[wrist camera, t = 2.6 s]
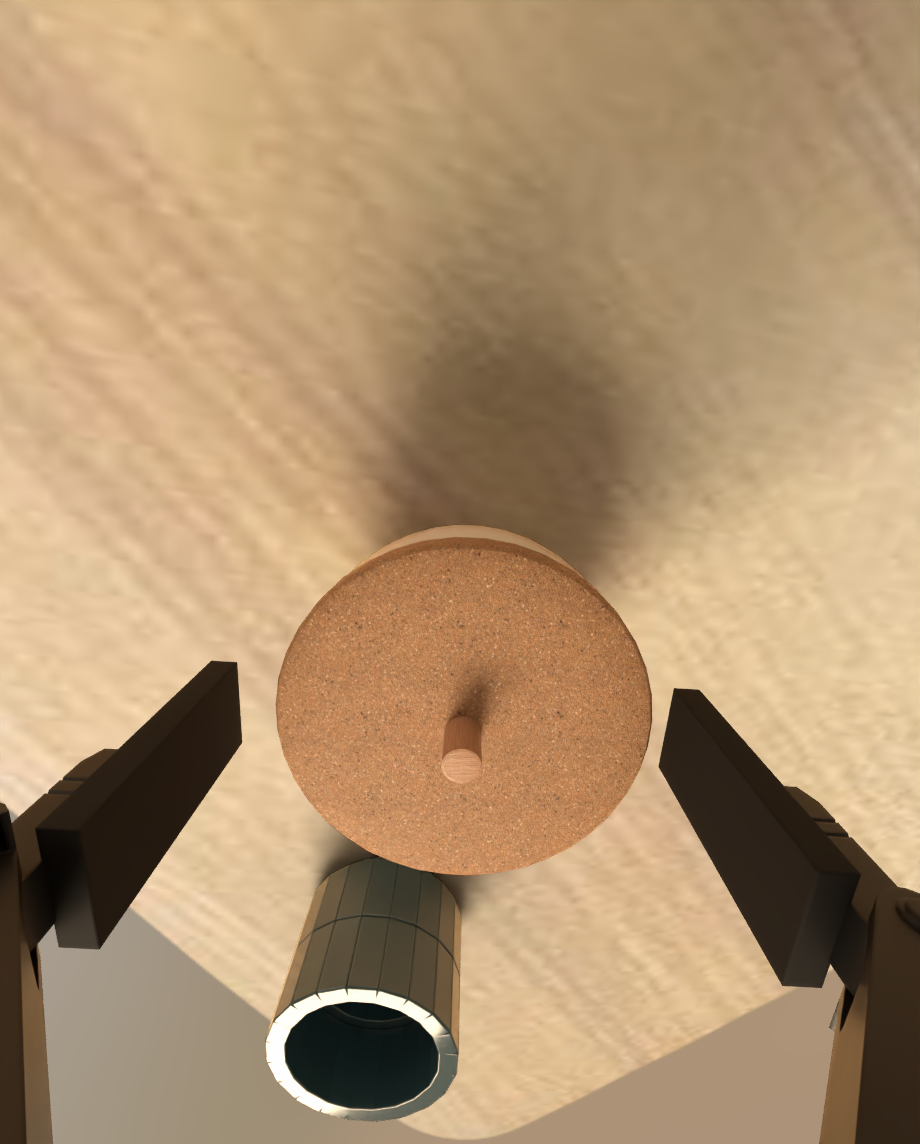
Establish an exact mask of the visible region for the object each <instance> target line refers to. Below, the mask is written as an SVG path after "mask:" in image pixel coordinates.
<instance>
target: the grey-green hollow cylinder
mask: <svg viewBox="0 0 920 1144" xmlns="http://www.w3.org/2000/svg"><path fill="white" fill-rule="evenodd" d="M460 952H461V915H460V912H459V909H458V906H457V903H456V900H455V899H454V896H453V895H452V894H451V893H450V891H449V890H448V889H447V888H446V886H445V885H444V884H443V883H442V882H441V881H440V880H439V879H437V878H436V877H435V876H434V875H433V874H431V873H430V872H429V871H423V870H417V869H414V868H411V867H408V866H404V865H401V864H398V863H395V862H392V861H390V860H387V859H385V858H383V857H379V858H370V859H365V860H361V861H358V862H355V863H353V864H349V865H347V866H345V867H344V868H342V869H340V870H338V871H336V872H334V873H332V874H331V875H329V876H328V877H327V878H326V879H325V881H324V882H323V883H322V884H321V885H320V886H319V887H318V888H317V889H316V891H315V893H314V896H313V898H312V901H311V903H310V906H309V909H308V912H307V915H306V918H305V921H304V924H303V927H302V930H301V933H300V936H299V939H298V942H297V945H296V948H295V951H294V954H293V957H292V960H291V964H290V966H289V969H288V972H287V975H286V978H285V981H284V984H283V987H282V990H281V993H280V997H279V1000H278V1003H277V1006H276V1009H275V1012H274V1015H273V1018H272V1021H271V1024H270V1027H269V1030H268V1033H267V1036H266V1040H265V1046H266V1061H267V1064H268V1065H269V1068H270V1069H271V1071H272V1073H273V1075H274V1077H275V1079H276V1081H278V1083H279V1084H280V1085H281V1086H282V1087H283V1088H284V1089H286V1091H288V1092H289V1093H290V1094H291V1095H292V1096H293V1097H294V1098H296V1100H297V1101H299V1102H301V1103H303V1104H305V1105H307V1106H309V1107H311V1108H312V1109H314V1110H316V1111H320V1112H322V1113H326V1114H329V1115H333V1116H336V1117H340V1118H344V1119H346V1118H347V1120H357V1121H376V1122H377V1121H384V1120H391V1119H397V1118H402V1117H405V1116H408V1115H410V1114H413V1113H415V1112H418V1111H420V1110H423V1109H425V1108H426V1107H427V1108H428V1107H429V1106H430V1105H432V1104H433V1103H434V1102H435V1101H437V1100H438V1099H439V1098H440V1097H442V1096H443V1095H444V1094H445V1092H446V1091H447V1090H448V1088H449V1086H450V1085H451V1083H452V1081H453V1079H454V1078H455V1076H456V1074H457V1066H458V1055H459V1006H460Z"/></svg>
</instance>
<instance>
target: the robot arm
mask: <svg viewBox="0 0 920 1144" xmlns="http://www.w3.org/2000/svg"><path fill="white" fill-rule="evenodd" d="M241 743H242V732H241V716H240V700H239V685H238V669H237V662H222V661H211V662H210V663H209V664H208V665H206V666H205V667H204V668H203V669H202V670H201V671H200V672H199V673H198V674H197V675H196V676H195V677H194V678H193V679H192V680H191V681H190V682H189V683H188V684H186V685H185V686H184V687H183V688H182V689H181V690H180V691H179V692H178V693H177V694H176V695H175V696H174V697H173V698H172V699H171V700H170V701H169V702H167V703H166V704H165V705H164V706H163V707H162V708H161V709H160V710H159V711H158V712H157V713H156V714H155V715H154V716H153V717H152V718H151V719H150V720H149V721H147V722H146V723H145V724H144V725H143V726H142V727H141V728H140V729H139V730H138V731H137V732H136V733H135V734H134V735H133V736H132V737H131V738H130V739H128V740H127V741H126V742H125V743H124V744H123V745H122V746H121V747H120V748H119V749H103V750H101V751H100V752H98V753H96V754H94V755H92V756H90V757H89V758H87V759H85V760H83V761H81V762H80V763H79V764H78V765H77V766H75V767H74V768H73V769H72V770H71V771H70V772H69V773H68V774H66V775H65V776H64V777H63V780H62V781H61V780H60V781H59V782H57V783H56V784H55V785H54V786H53V787H52V788H51V789H50V790H49V792H48V794H44V795H43V796H42V797H41V798H39V799H38V800H37V801H36V802H35V803H34V804H33V805H32V806H30V807H29V808H28V809H27V810H26V811H25V812H24V813H23V814H21V815H20V816H19V817H18V818H17V819H16V820H15V821H14V822H13V823H11V819H10V814H9V811H8V809H7V807H6V805H5V804H3V803H0V1144H53V1139H52V1123H51V1111H50V1110H51V1109H50V1094H49V1078H48V1064H47V1051H46V1050H47V1049H46V1034H45V1019H44V1005H43V989H42V975H41V960H40V954H39V949H38V943H39V942H40V940H41V939H42V938H43V936H44V935H45V934H46V933H47V932H48V931H49V929H50V928H51V927H52V926H53V924H54V925H55V930H56V935H57V940H58V945H59V947H63V948H84V949H100V948H101V946H102V945H103V943H104V942H105V941H106V939H107V938H108V936H109V935H110V933H111V932H112V930H113V929H114V927H115V926H116V925H117V923H118V921H119V920H120V919H121V917H122V916H123V914H124V913H125V912H126V910H127V909H128V907H129V906H130V904H131V903H132V901H133V900H134V899H135V897H136V896H137V894H138V893H139V891H140V890H141V888H142V887H143V885H144V884H145V883H146V881H147V880H148V878H149V877H150V875H151V874H152V872H153V871H154V870H155V868H156V867H157V865H158V864H159V862H160V861H161V859H162V858H163V856H164V855H165V854H166V852H167V851H168V849H169V848H170V846H171V845H172V843H173V842H174V841H175V839H176V838H177V836H178V835H179V833H180V832H181V830H182V829H183V828H184V826H185V825H186V823H187V822H188V820H189V819H190V817H191V816H192V814H193V813H194V812H195V810H196V809H197V807H198V806H199V804H200V803H201V801H202V800H203V799H204V797H205V796H206V794H207V793H208V791H209V790H210V788H211V787H212V785H213V784H214V783H215V781H216V780H217V778H218V777H219V775H220V774H221V772H222V771H223V770H224V768H225V767H226V765H227V764H228V762H229V761H230V759H231V758H232V756H233V755H234V754H235V752H236V751H237V749H238V748H239V746H240V745H241ZM659 768H660V770H661V772H662V773H663V775H664V777H665V779H666V781H667V782H668V784H669V786H670V788H671V789H672V791H673V793H674V795H675V796H676V798H677V800H678V802H679V804H680V805H681V807H682V809H683V811H684V812H685V814H686V816H687V818H688V819H689V821H690V823H691V825H692V827H693V828H694V830H695V832H696V834H697V835H698V837H699V839H700V841H701V842H702V844H703V846H704V848H705V850H706V851H707V853H708V855H709V857H710V858H711V860H712V862H713V864H714V865H715V867H716V869H717V871H718V873H719V874H720V876H721V878H722V880H723V881H724V883H725V885H726V887H727V888H728V890H729V892H730V894H731V896H732V897H733V899H734V901H735V903H736V904H737V906H738V908H739V910H740V911H741V913H742V915H743V917H744V919H745V920H746V922H747V924H748V926H749V927H750V929H751V931H752V933H753V934H754V936H755V938H756V940H757V942H758V943H759V945H760V947H761V949H762V950H763V952H764V954H765V956H766V957H767V959H768V961H769V963H770V965H771V966H772V968H773V970H774V972H775V973H776V975H777V977H778V979H779V981H780V982H781V984H782V986H796V987H815V988H822V986H823V983H824V980H825V977H826V974H827V971H828V969H829V966H830V964H831V965H832V967H833V968H834V970H835V971H836V973H837V974H838V976H839V977H840V978H841V980H842V982H843V983H844V988H843V991H842V993H841V996H840V999H839V1001H838V1004H837V1007H836V1010H835V1012H834V1015H833V1018H832V1021H831V1023H830V1026H829V1028H830V1029H832V1030H834V1031H835V1035H834V1042H833V1049H832V1056H831V1063H830V1071H829V1079H828V1085H827V1093H826V1099H825V1106H824V1113H823V1121H822V1128H821V1135H820V1142H819V1144H920V893H917V892H914V891H911V890H909V889H906V888H900V887H897V886H896V884H895V883H894V882H893V881H892V880H891V879H890V878H889V877H888V876H887V875H886V874H885V873H884V872H883V871H882V869H881V868H880V867H879V866H878V865H877V864H876V863H875V862H874V861H873V860H872V859H871V858H870V857H869V855H868V854H867V853H866V852H865V851H864V850H863V849H862V848H861V847H860V846H859V845H858V844H857V843H856V842H855V840H854V839H853V838H851V837H849V836H848V833H847V832H846V831H845V830H844V829H843V828H842V827H841V825H840V824H839V823H836V822H835V819H834V818H833V817H832V816H831V815H830V814H829V813H828V812H827V810H826V809H825V808H824V807H823V806H822V805H821V804H820V803H819V802H818V801H816V800H815V799H813V798H812V797H810V796H809V795H808V794H806V793H805V792H803V791H802V790H800V789H799V788H797V787H788V786H783V785H782V783H781V782H780V781H779V780H778V779H777V778H776V777H775V776H774V774H773V773H772V772H771V771H770V770H769V769H768V768H767V766H766V765H765V764H764V763H763V762H762V761H761V760H760V758H759V757H758V756H757V755H756V754H755V753H754V752H753V750H752V749H751V748H750V747H749V746H748V745H747V744H746V742H745V741H744V740H743V739H742V738H741V737H740V736H739V735H738V733H737V732H736V731H735V730H734V729H733V728H732V727H731V725H730V724H729V723H728V722H727V721H726V720H725V719H724V717H723V716H722V715H721V714H720V713H719V712H718V711H717V709H716V708H715V707H714V706H713V705H712V704H711V703H710V701H709V700H708V699H707V698H706V697H705V696H704V695H703V694H702V692H701V691H700V690H694V689H677V688H674V691H673V696H672V701H671V706H670V711H669V716H668V721H667V726H666V732H665V737H664V742H663V747H662V752H661V757H660V762H659Z"/></svg>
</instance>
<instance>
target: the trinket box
mask: <svg viewBox="0 0 920 1144" xmlns="http://www.w3.org/2000/svg"><path fill="white" fill-rule="evenodd" d="M276 714H277V728H278V733H279V737H280V741H281V745H282V749H283V753H284V756H285V758H286V761H287V763H288V765H289V767H290V770H291V772H292V774H293V777H294V779H295V781H296V782H297V784H298V785H299V787H300V788H301V790H302V791H303V793H304V794H305V796H306V797H307V799H308V800H309V802H310V803H311V804H312V805H313V806H314V807H315V808H316V810H317V811H318V812H319V813H320V814H321V815H322V817H323V818H324V819H325V820H326V821H327V822H328V823H330V824H331V825H332V826H333V827H334V828H336V829H337V830H338V831H339V832H341V833H342V834H343V835H344V836H346V837H347V838H348V839H350V840H352V841H353V842H355V843H356V844H358V845H359V846H361V847H362V848H364V849H366V850H367V851H369V852H371V853H374V854H376V855H378V856H380V857H383V858H385V859H387V860H390V861H392V862H395V863H398V864H401V865H404V866H408V867H411V868H414V869H417V870H423V871H429V872H436V873H442V874H457V875H477V874H488V873H497V872H502V871H508V870H513V869H518V868H522V867H525V866H528V865H531V864H534V863H536V862H539V861H542V860H545V859H547V858H549V857H551V856H553V855H555V854H557V853H559V852H561V851H564V850H566V849H568V848H570V847H571V846H573V845H574V844H575V843H577V842H578V841H580V840H581V839H582V838H584V837H585V836H587V835H588V834H589V833H591V832H592V831H593V830H594V829H595V828H596V827H597V826H599V825H600V824H601V823H602V822H603V821H604V820H605V819H606V818H607V817H608V816H610V814H611V813H612V812H613V810H614V809H615V808H616V807H617V805H618V804H619V803H620V801H621V800H622V799H623V797H624V796H625V795H626V793H627V792H628V790H629V788H630V786H631V785H632V783H633V781H634V779H635V777H636V776H637V774H638V772H639V770H640V767H641V764H642V762H643V759H644V756H645V753H646V750H647V747H648V742H649V736H650V730H651V724H652V694H651V689H650V684H649V679H648V674H647V669H646V666H645V664H644V661H643V659H642V656H641V654H640V651H639V649H638V646H637V644H636V642H635V640H634V638H633V637H632V635H631V634H630V632H629V630H628V629H627V627H626V625H625V624H624V622H623V621H622V619H621V618H620V616H619V615H618V613H617V612H616V611H615V610H614V608H613V607H612V606H611V605H610V604H609V603H608V602H607V601H606V600H605V598H604V597H603V596H602V595H601V594H600V593H599V592H598V591H597V590H596V589H595V588H594V587H593V586H592V585H590V584H589V583H588V582H587V581H585V579H584V578H583V577H582V576H581V575H580V574H579V573H578V572H577V571H576V570H575V569H574V568H573V567H571V566H570V565H569V564H568V563H566V562H565V561H564V560H563V559H561V558H560V557H559V556H558V555H556V554H555V553H553V552H552V551H550V550H548V549H546V548H545V547H543V546H541V545H539V544H538V543H536V542H534V541H532V540H530V539H528V538H526V537H523V536H520V535H517V534H515V533H512V532H509V531H506V530H501V529H496V528H491V527H486V526H475V525H452V526H444V527H435V528H431V529H427V530H424V531H420V532H416V533H413V534H410V535H408V536H405V537H403V538H401V539H399V540H397V541H394V542H392V543H390V544H388V545H386V546H385V547H383V548H381V549H380V550H378V551H377V552H375V553H374V554H372V555H371V556H369V557H368V558H366V559H365V560H363V561H362V562H361V563H360V564H359V565H358V566H357V567H356V568H354V569H353V570H352V571H351V572H350V573H349V574H348V575H346V576H345V577H343V578H342V579H341V580H340V581H339V582H338V583H337V584H336V585H335V586H334V587H333V588H332V589H331V590H329V591H328V592H327V593H326V594H325V595H324V596H323V597H322V598H321V599H320V600H319V601H318V603H317V604H316V605H315V607H314V608H313V609H312V611H311V612H310V613H309V615H308V616H307V617H306V619H305V620H304V621H303V623H302V624H301V625H300V627H299V628H298V630H297V632H296V634H295V636H294V638H293V640H292V642H291V644H290V646H289V648H288V650H287V652H286V655H285V658H284V661H283V665H282V668H281V672H280V675H279V679H278V688H277V698H276Z"/></svg>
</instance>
